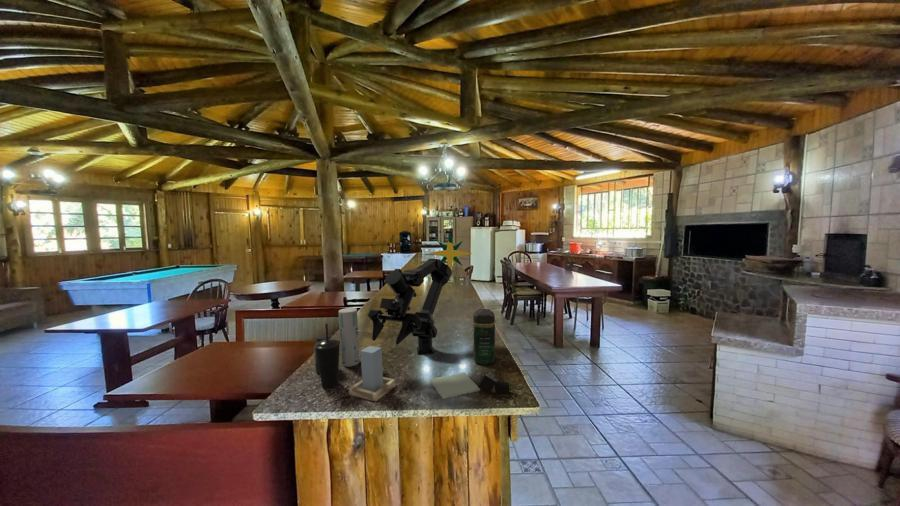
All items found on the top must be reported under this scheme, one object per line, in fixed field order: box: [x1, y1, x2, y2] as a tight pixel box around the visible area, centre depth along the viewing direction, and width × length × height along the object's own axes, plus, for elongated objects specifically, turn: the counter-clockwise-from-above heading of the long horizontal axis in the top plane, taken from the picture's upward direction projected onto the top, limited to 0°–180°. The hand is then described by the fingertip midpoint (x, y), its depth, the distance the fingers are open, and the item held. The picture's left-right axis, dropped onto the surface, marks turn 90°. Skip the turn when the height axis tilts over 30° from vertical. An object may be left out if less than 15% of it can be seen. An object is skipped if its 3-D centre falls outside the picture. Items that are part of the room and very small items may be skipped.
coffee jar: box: [472, 308, 496, 366], centre depth 121 cm, size 10×8×19 cm
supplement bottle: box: [313, 334, 332, 374], centre depth 116 cm, size 7×7×12 cm
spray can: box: [338, 307, 360, 368], centre depth 121 cm, size 6×6×20 cm
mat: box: [429, 372, 481, 400], centre depth 103 cm, size 12×12×1 cm
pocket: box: [348, 376, 397, 402], centre depth 102 cm, size 10×10×2 cm
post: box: [360, 345, 384, 392], centre depth 101 cm, size 4×4×13 cm
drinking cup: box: [314, 323, 341, 390], centre depth 105 cm, size 8×8×20 cm
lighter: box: [477, 372, 511, 395], centre depth 99 cm, size 9×2×6 cm
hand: (384, 342), depth 107 cm, fingers open, 9 cm apart
